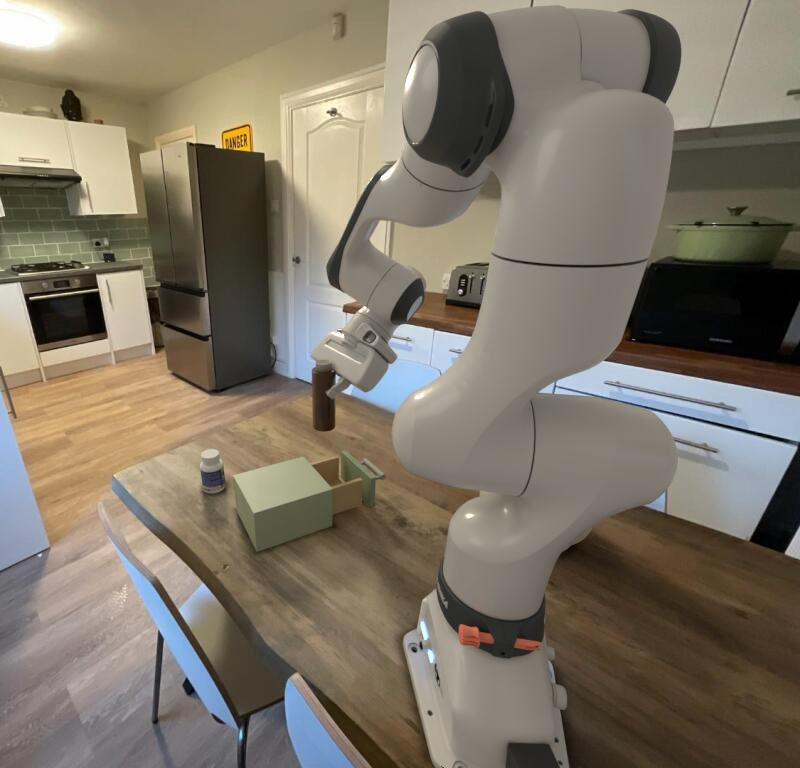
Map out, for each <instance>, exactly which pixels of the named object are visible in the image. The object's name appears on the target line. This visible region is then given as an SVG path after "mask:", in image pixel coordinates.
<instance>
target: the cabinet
mask: <svg viewBox="0 0 800 768" xmlns="http://www.w3.org/2000/svg"><path fill="white" fill-rule="evenodd" d="M310 463H311V462H310V461H308V460H307V458H306V457H305V456H299V457H296V458H295V457H294V458H292V459H289V460H285V461H281V462H277V463H273V464H269V465H266V466H262V467H258V468H255V469H250V470H247V471H244V472H241V473H236V474H233V475H232V479H233V489H234V498H235V499H234V500H235V508H236V509H235V510H236V513H237V514H238V516H239V518H240V520H241V522H242V524H243V526H244V528H245V531H246V533H247V535H248V537H249V539H250V541H251V543H252V546H253V547H254V550H255V551H256V552H257V553H258V552H262V551H264V550H267V549H270V548H272V547H276V546H278V545H281V544H284V543H287V542H289V541H293V540H295V539H299V538H301V537H304V536H308V535H310V534H313V533H316V532H319V531H322V530H324V529H328V528H330V527H333V515H332V506H333V489H332V488H331V487H330V485H329V484H328V483H327V482H326V481H325V480H324V479H323V478H322V476H321V475H320V474H319V473H318V472H317V471H316V470H315V469H314V468H313V466H312V465H311V464H310Z"/></svg>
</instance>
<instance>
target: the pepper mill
mask: <svg viewBox="0 0 800 768" xmlns="http://www.w3.org/2000/svg"><path fill="white" fill-rule="evenodd" d="M311 381H312V384H311V400H312V401H311V405H312V407H311V409H312V428H313V429H314V430H315V431H318V432H321V433H322V432H330V431H333V430H335V429H336V414H337V413H336V409H337V407H336V406H337V405H336V404H337V403H336V401H337V400H336V399H337V398H336V397H337V396H336V397H335V398H334V399H331V398H330V397H329V396H327V395H326V394H325V391H326V390H327V388H328V387H329V386H330V387H332V386H334V385H335V384H336V383H337V375H336V372H335V371H334V370H333V369H332V362H331V361H329V360H318V361H315V367H313V368H311Z"/></svg>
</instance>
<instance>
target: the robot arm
mask: <svg viewBox="0 0 800 768" xmlns="http://www.w3.org/2000/svg"><path fill="white" fill-rule="evenodd" d="M681 64H682V43H681V38H680V35H679V32H678V31H677V29H676V28H675V26H674V25H673V24H672V23H671V22H669V21H668V20H666V19H664V18H663V17H662V16H659V15H657V14H655V13H654V14H653V13H650V12H647V11H643V10H639V9H635V8H626V9H621V10H618V11H612V10H603V9H594V8H577V7H576V8H575V7H573V8H571V7H570V8H569V7H568V8H567V7H565V6H563V5H559V4H554V5H551V4H550V5H536V6H535V5H534V6H528V7H520V8H519V7H518V8H512V9H507V10H502V11H495V12H491V13H485V12H484V11H482V10H474V11H471V12H467V13H462V14H460V15H459V14H458V15H456V16H453V17H450V18H448V19H445V20H443V21H441V22H439V23H437V24H435V25H433V26H432V27H431V28H430V29H429V30H428V31H427V33H425V35H424V36H423V39H422V40H421V42H420V43H419V45H418V46H417V47H416V49H415V51H414V52H413V55H412V57H411V59H410V62H409V65H408V69H407V73H406V77H405V81H404V87H403V93H402V94H403V95H402V105H401V108H402V109H401V116H402V117H401V119H402V128H403V133H404V137H405V140H404V143H403V147H402V150H401V153H400V155H399V157H398V159H397V161H396V162H395V163H393V164H385V165H383V166H381V167H380V169H378V170H377V171H376V172H375V173H374V174H373V176H372V177H371V178H370V179H369V181H368V182H367V184H366V185H365V187H364V188H363V191H362V192H361V194H360V196H359V198H358V199H357V202H356V204H355V206H354V208H353V211H352V213H351V215H350V217H349V218H348V219H349V220H348V222H347V224H346V226H345V228H344V230H343V233H342V235H341V237H340V239H339V241H338V243H337V245H336V246H335V248H334V250H333V251H332V253H331V255H330V257H329V259H328V261H327V263H326V267H325V271H326V276H327V280H328V283H329V286H331V287H332V288H334V289H336V290H338V291H340V292H342V293H344V294H346V295H348V296H349V297H350V298H352V299H353V300H355V301H356V302H358V303H359V304H360V305H361V306H362V307H361V308H360V309H358V310H357V311H356V312H355V313H354V314H353V316H352V317H351V319H349V321H348V322H347V323H346V325H345V326H344V327H343V328H337V329H335V330H333V331H331V332H329V333H328V334H326V335H325V336H324V337H323V338H322V339H321V340H320V341H319V342H318V343H317V344H316V345H315V347H314V348H313V349H312V350H311V353H310V357H311V359H313V360H314V361H315V362H316V361H318V360H329V361H331V362H332V369H333V370H334V371H335V372H336V376H338V377H339V378H338V379H337V382H336V384H335V385H334V386H332V387H330V386H329V387H328V388H327V390H326V391H325V394H326V395H327V396H329V397H330V398H331V399H334V398H335V397H337V396H338V394H340V393H341V392H344V391H345V390H347V389H349V387H350V386H351V385H352V386H353V387H355V388H357V389H358V390H359V391H361V392H362V393H365V394H366V393H369V392H371V391H372V390H374V388H375V387H376V386H377V385H378V384H379V383H380V382H381V380H382V379H383V377H384V376H385V375H386V374H387V372H388V369H389V366H390V365H393V364H394V363H395V362H396V361H397V359H398V355H397V353H396V352H395V351H394V350H393V349H392V347H391V346H390V344H389V342H390V340H391V339H392V337H393V335H394V333H395V331H396V330H397V329H398V328H399V327H400V326H403V325H406V324H408V323H409V322H410V321H411V319H412V318H413V317H414V315H415V314H416V313H417V312H418V310H419V309H420V308H421V307H422V305H423V303H424V301H425V298H426V296H425V291H426V289H427V281H426V279H425V277H424V275H423V274H422V273H421V272H420V271H419V270H418V269H417V268H415V267H413V266H411V265H407V264H401V263H400V262H398V261H397V260H395V259H393V258H391V257H390V256H388V255H387V254H386V253H384V252H383V251H381V250H379V249H378V248H377V247H376V246H375V245H374V244H373V243H372V241H371V238H372V236H373V234H374V233H375V231H376V229H377V226H378V225H379V223H380V221H383V222H392V223H397V224H401V225H404V226H407V227H411V228H418V229H419V228H420V229H426V228H435V227H439V226H444V225H445V224H448V223H451V222H452V221H454V220H456V219H458V218H459V217H460V216H462V215H463V214H464V213H465V212H466V211H467V210H468V209H469V207H470V206H471V205H472V203H473V202H474V201H475V199H476V198H477V196H478V195H479V194H480V192H481V190H482V189H483V188H484V185H485V183H486V182H487V180H488V178H489V176H490V175H491V173H492V172H493V173H494V174H495V176H496V178H497V180H498V183H499V185H500V191H501V193H500V195H501V196H500V206H499V212H498V217H497V221H496V226H495V230H494V235H493V241H492V246H491V252H490V258H489V262H488V263H489V264H488V270H487V276H486V281H485V285H484V290H483V295H482V300H481V303H480V308H479V312H478V315H477V320H476V323H475V327H474V330H473V331H472V335H471V336H470V338H469V340H468V343H467V344H466V346H465V347H464V349H463V351H462V352H461V353H460V355H459V356H458V357H457V358H456V360H455V361H454V362H453V363H452V364H451V365H450V366H449V367H448V368H447V369H446V370H445V371H444V372H443V373H442V374H440V375H439V376H438V377H437V378H435V379H433V380H432V381H431V382H429V383H427V384H425V385H424V386H422V387H420V388H418V389H415V390H414V391H412V392H410V394H409V395H408V396H406V397H405V399H404V400H403V401H402V402H401V403H400V405H399V407H398V409H397V410H396V412H395V415H394V416H393V417H394V418H393V421H392V424H391V425H392V426H391V442H392V446H393V450H394V453H395V456H396V457H397V459H398V461H399V463H400V465H401V466H402V467H403V468H404V470H405V471H406V472H407V473H408V474H410V475H412V476H416V477H419V478H421V479H423V480H427V481H430V482H433V483H437V484H439V485H443V486H446V487H449V488H455V489H456V488H457V489H464V490H469V491H470V490H471V491H478V492H480V491H485V492H492V493H489V494H486V495H482V496H480V495H479V496H476V497H474V498H471V499H469V500H467V501H466V502H464V503H462V504H461V506H459V507H458V508H457V509H456V511H455V512H454V513H453V515H452V516H451V518H450V520H449V522H448V528H447V535H446V543H445V549H444V555H443V557H442V558H441V560H440V563H439V566H438V568H437V573H436V584H435V588H434V589H433V590H432V591H431V592H429V594H427V595H426V596H425V597H424V598H423V599H422V601H421V606H420V610H419V615H418V619H417V620H418V621H417V626H416V628H415V629H413V630H410V631H408V632H407V633H406V634H405V635H404V636H403V640H402V648H403V652H404V656H405V659H406V664H407V668H408V672H409V676H410V680H411V685H412V689H413V693H414V696H415V700H416V705H417V709H418V713H419V717H420V721H421V725H422V729H423V733H424V737H425V741H426V745H427V749H428V754H429V758H430V760H431V763H432V765H433V767H434V768H442V767H444V768H570V763H569V757H568V751H567V745H566V738H565V733H564V727H563V720H562V713H561V711H565V710H567V706H568V695H567V690H566V688H565V687H564V686H563V685H560V684H557V683H556V676H555V671H554V666H553V664H552V662H551V661H555V659H556V652H555V647H552V646H549V645H547V640H546V639H547V638H546V632H545V625H546V621H547V608H546V607H547V606H546V602H547V600H546V589H547V586H548V583H549V581H550V578H551V575H552V573H553V571H554V568H555V565H556V563H557V561H558V559H559V557H560V556H561V554H562V553H563V552H564V551H563V550H564V549H565V548H566V547H567V546H568V545H569V544H570V543H571V542H572V541H573V540H574V539H576V538H577V537H578V536H579V535H581V534H582V533H583V532H585V531H586V530H587V529H589V528H590V527H592V526H593V527H594V526H596V525H597V524H599V523H601V522H602V521H604V520H605V519H606V520H607V519H608V518H610V517H613V516H614V515H617V514H620V513H622V512H625V511H628V510H631V509H635V508H638V507H642V506H646V505H650V504H651V503H653V502H655V501H656V500H658V499H660V497H662V496H663V494H665V492H666V491H668V489H669V488H670V486H671V484H672V483H673V482H674V481H673V480H674V478H675V476H676V474H677V470H678V461H679V458H678V457H679V455H678V449H677V444H676V441H675V438H674V437H673V434H672V433H671V431H670V429H669V428H668V426H667V425H666V424H665V422H664V421H663V419H661V418H660V417H659V416H658V414H656V413H655V412H653V411H651V410H650V409H647V408H644V407H640V406H636V405H632V404H628V403H625V402H621V401H618V400H617V401H616V400H612V399H607V398H605V397H604V398H603V397H599V396H594V395H593V396H591V395H579V394H578V395H577V394H565V393H551V392H541V391H542V390H544V389H546V388H547V387H549V386H550V385H552V384H554V383H556V382H558V381H560V380H563V379H565V378H569V377H571V376H573V375H577V374H579V373H583V372H585V371H588V370H590V369H592V368H594V367H596V366H598V365H599V364H601V363H602V362H603V361H605V360H606V359H607V358H609V356H610V355H612V353H613V352H614V351H615V350H616V349H617V347H618V346H619V345H620V344H621V342H622V340H623V337H624V333H625V330H626V328H627V325H628V322H629V318H630V316H631V313H632V310H633V308H634V305H635V301H636V298H637V296H638V292H639V290H640V286H641V283H642V280H643V277H644V276H645V275H644V274H645V272H646V268H647V266H648V263H649V259H650V256H651V252H652V249H653V247H654V243H655V240H656V237H657V233H658V230H659V226H660V225H659V224H660V221H661V217H662V214H663V210H664V205H665V201H666V195H667V190H668V186H669V185H668V184H669V180H670V172H671V165H672V159H673V147H674V137H675V121H674V117H673V114H672V112H671V110H670V108H669V107H668V106H667V102H668V100H669V98H670V97H671V95H672V92H673V91H674V87H675V86H676V83H677V79H678V77H679V73H680V68H681ZM310 384H311V385H312V380H311V381H310ZM414 651H415V652H414ZM441 766H442V767H441Z"/></svg>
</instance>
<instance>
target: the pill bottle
mask: <svg viewBox="0 0 800 768" xmlns="http://www.w3.org/2000/svg"><path fill="white" fill-rule="evenodd" d="M200 458H201V462H200V463H199V472H200V478H201V486H202V490H203V492H204V493H207V494H212V495H213V494H217V493H220V492H223V491H224V489H225V488H226V474H225V467H224V461H223V460H222V459H221V456H220V451H219V450H218V449H215V448H209V449H206V450H204V451H202V452H201V454H200Z"/></svg>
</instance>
